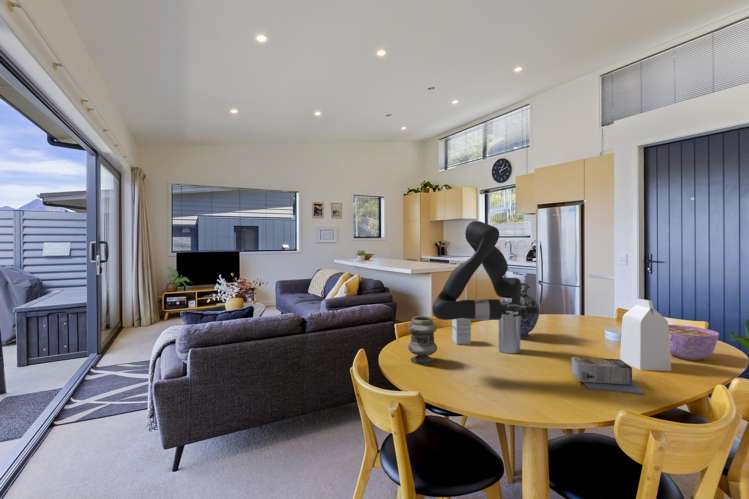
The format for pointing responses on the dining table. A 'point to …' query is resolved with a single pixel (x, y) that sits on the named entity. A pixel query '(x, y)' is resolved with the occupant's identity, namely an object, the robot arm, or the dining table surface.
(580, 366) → the coffee box
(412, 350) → the apothecary jar
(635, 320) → the milk
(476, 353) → the dining table surface
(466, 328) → the supplement box
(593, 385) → the grey mat
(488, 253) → the robot arm
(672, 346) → the bowl of food
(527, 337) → the decorative vase
